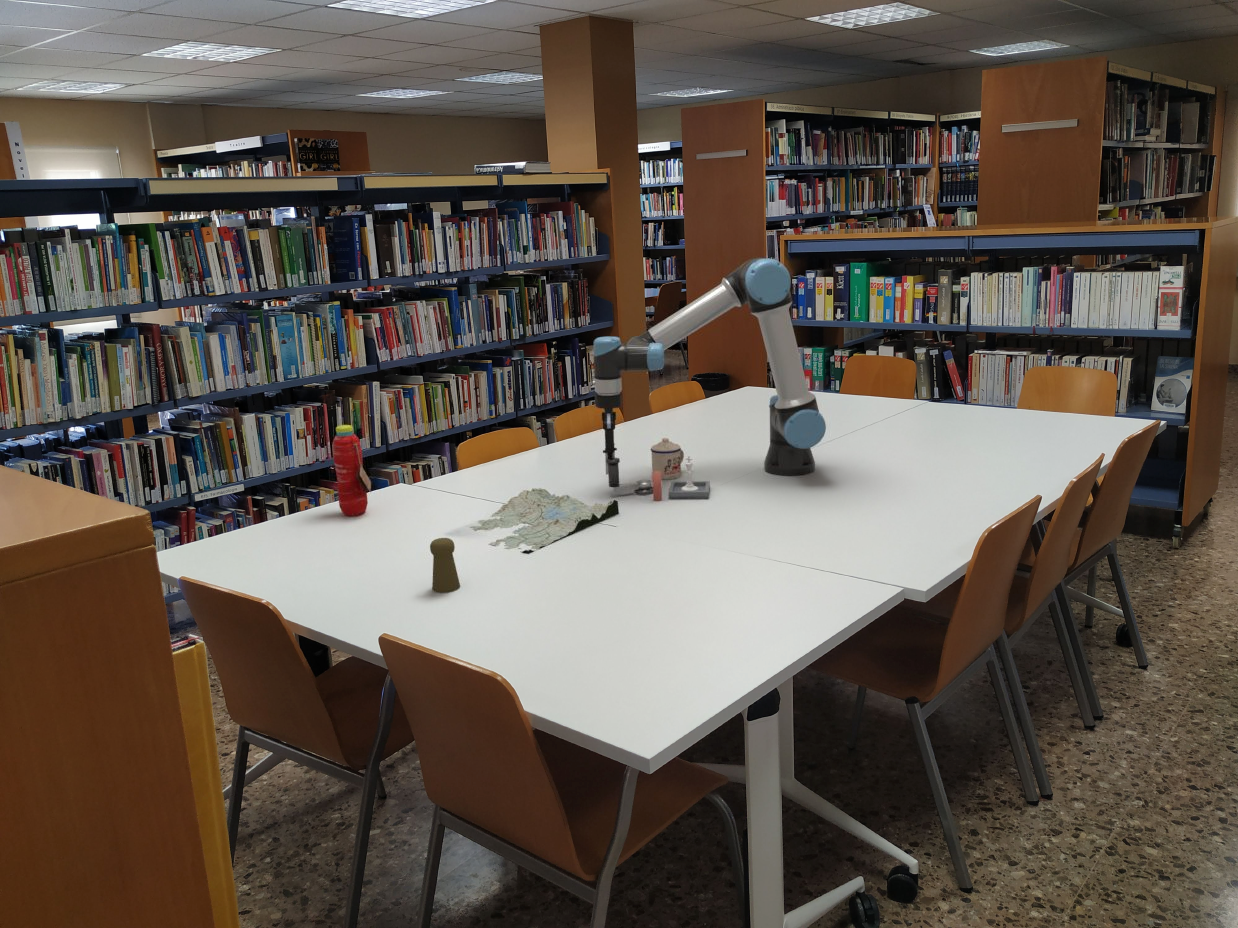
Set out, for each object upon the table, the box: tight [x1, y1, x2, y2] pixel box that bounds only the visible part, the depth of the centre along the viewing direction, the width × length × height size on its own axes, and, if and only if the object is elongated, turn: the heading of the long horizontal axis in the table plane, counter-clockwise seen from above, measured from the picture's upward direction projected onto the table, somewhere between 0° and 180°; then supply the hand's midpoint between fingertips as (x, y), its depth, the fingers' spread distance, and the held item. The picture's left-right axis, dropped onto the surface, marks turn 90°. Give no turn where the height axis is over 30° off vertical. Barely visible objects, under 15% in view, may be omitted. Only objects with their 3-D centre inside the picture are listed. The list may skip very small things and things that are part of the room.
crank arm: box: [605, 457, 653, 493], centre depth 263 cm, size 13×4×9 cm, turn 109°
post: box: [651, 471, 663, 502], centre depth 257 cm, size 2×2×8 cm
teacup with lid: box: [650, 437, 685, 481], centre depth 281 cm, size 12×9×12 cm
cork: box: [429, 537, 461, 594], centre depth 201 cm, size 6×6×11 cm
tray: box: [667, 480, 711, 500], centre depth 262 cm, size 11×11×2 cm
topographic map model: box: [469, 487, 620, 555], centre depth 242 cm, size 36×29×5 cm
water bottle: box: [331, 424, 372, 517], centre depth 255 cm, size 12×8×25 cm, turn 52°
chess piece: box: [681, 455, 699, 491], centre depth 261 cm, size 5×5×10 cm
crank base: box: [633, 486, 653, 496], centre depth 266 cm, size 6×6×1 cm
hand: (610, 473), depth 267 cm, fingers closed
